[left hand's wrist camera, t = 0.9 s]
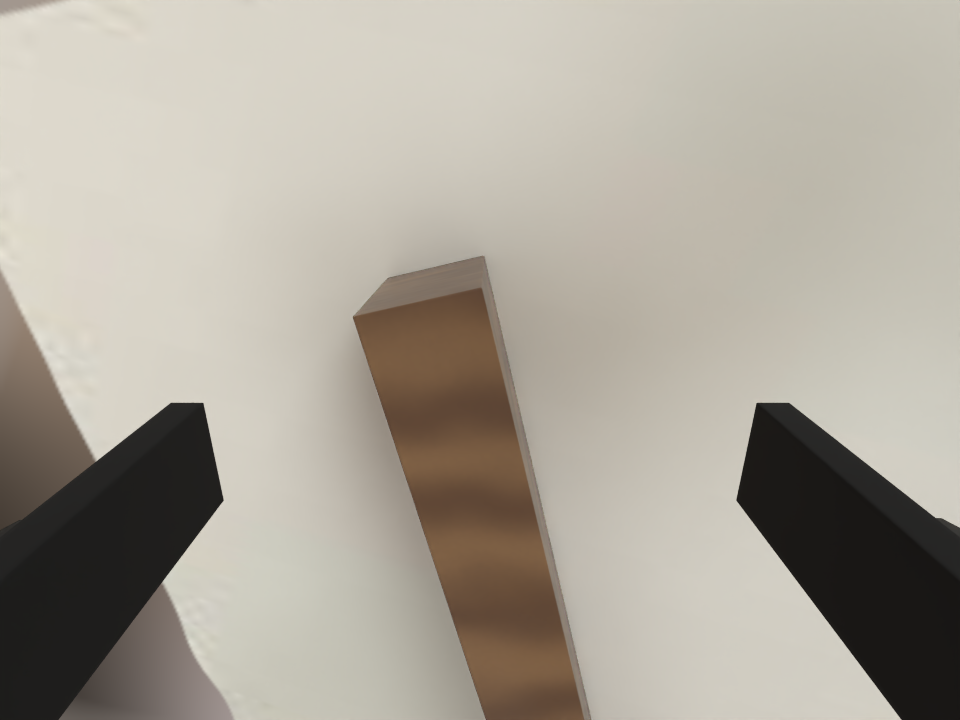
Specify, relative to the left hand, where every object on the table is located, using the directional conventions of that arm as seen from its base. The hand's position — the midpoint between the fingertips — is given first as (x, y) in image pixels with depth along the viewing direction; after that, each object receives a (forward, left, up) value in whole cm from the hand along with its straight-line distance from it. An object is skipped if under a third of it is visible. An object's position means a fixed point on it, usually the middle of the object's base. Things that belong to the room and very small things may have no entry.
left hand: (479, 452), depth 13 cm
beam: (-16, +22, -18) cm, 32 cm away
